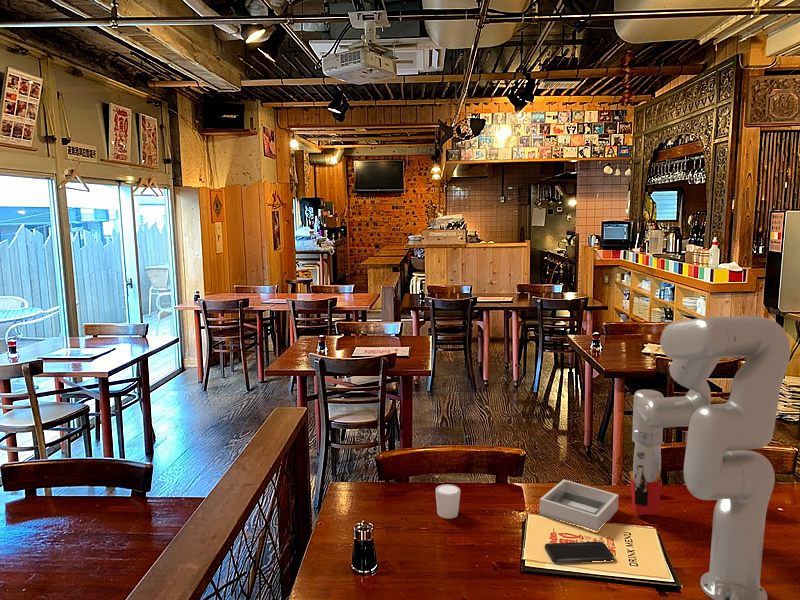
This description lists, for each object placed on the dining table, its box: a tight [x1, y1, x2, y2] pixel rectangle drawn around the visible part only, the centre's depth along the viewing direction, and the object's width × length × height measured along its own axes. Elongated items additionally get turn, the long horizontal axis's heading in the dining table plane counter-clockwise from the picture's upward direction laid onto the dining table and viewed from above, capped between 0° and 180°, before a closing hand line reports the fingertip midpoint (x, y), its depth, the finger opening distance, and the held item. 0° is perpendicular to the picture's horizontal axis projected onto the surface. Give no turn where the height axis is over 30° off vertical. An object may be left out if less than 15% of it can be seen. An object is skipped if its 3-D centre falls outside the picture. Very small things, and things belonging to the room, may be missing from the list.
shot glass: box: [435, 483, 461, 520], centre depth 163 cm, size 7×7×7 cm
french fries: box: [628, 469, 663, 515], centre depth 161 cm, size 8×4×12 cm, turn 96°
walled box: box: [538, 478, 620, 531], centre depth 164 cm, size 16×16×4 cm
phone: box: [544, 541, 615, 565], centre depth 144 cm, size 8×1×15 cm
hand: (644, 500), depth 162 cm, fingers closed on french fries, 5 cm apart
